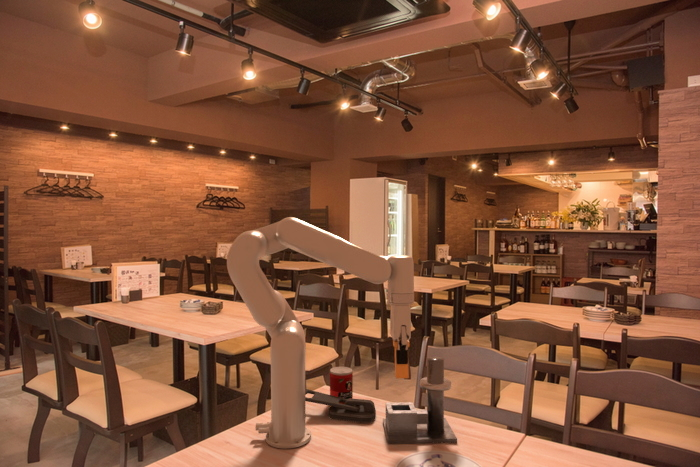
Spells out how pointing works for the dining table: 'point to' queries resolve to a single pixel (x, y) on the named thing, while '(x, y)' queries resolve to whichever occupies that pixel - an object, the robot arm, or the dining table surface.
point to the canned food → (341, 382)
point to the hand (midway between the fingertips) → (401, 361)
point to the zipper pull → (345, 407)
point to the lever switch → (422, 412)
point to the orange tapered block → (401, 369)
